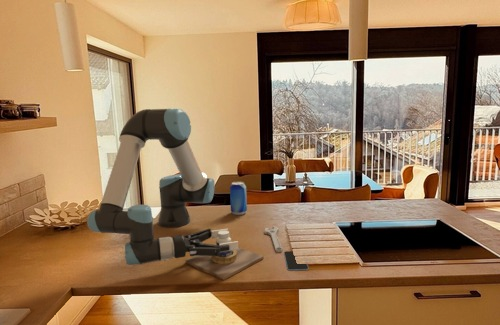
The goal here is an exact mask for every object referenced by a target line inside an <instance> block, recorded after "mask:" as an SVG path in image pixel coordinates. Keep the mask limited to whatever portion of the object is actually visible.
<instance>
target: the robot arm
mask: <svg viewBox="0 0 500 325" xmlns="http://www.w3.org/2000/svg"><path fill="white" fill-rule="evenodd" d="M191 131H192V125H191V119H190V116H189V115H188V113H187V112H186V111H184V109H181V108H173V107H171V108H170V107H169V108H153V109H150V108H149V109H148V108H147V109H142V110H139V111H137V112H136V113H134V114H133V115H132V116H131V117H130V118H129V119H128V120H127V122H126V123H125V125H124V126H123V127H122V130H121V132H120V133H119V138H118V141H119V142H120V144H119V147H118V150H117V154H116V156H115V158H114V159H115V160H114V162H113V166H112V168H111V171H110V175H109V176H108V181H107V184H106V187H105V190H104V193H103V195H102V199H101V202H100V206H99V207H98V209H94V210H92V211H91V212H90V214H88V216H87V219H86V220H87V222H86V223H87V227H88V229H89V231H92V232H94V233H101V234H120V235H121V234H122V235H129V240H130V241H129V242H126V243H125V244H124V258H125V263H126V265H127V266H134V265H135V266H137V265H143V264H149V263H155V262H160V261H164V262H166V261H167V260H171V259H173V258H174V259H180V258H185V257H186V254H187V253H189V256H190V257H194V256H197V255H198V256H219V255H220V252H225V251H231V250H237V249H238V247H239V241H237V240H236V241H235V240H234V241H231V242H228V243H222V244H219V245H216V244H211V243H204V242H205V241H207V240H208V239H217V238H218V232H219V231H229V230H230V229H229V228H222V229H215V230H212V229H211V228H206V229H203V230H199V231H196V232H193V233H190V234H185V235H183V234H180V235H173V236H172V237H171V236H164V237H159V238H155V237H154V236H155V235H154V223H153V220H154V218H153V214H152V208H151V206H150V205H148V204H134V205H132V206H130V207H128V208H127V211H126V210H124V207H125V205H126V204H125V203H126V200H127V197H128V193H129V190H130V187H131V183H132V179H133V177H134V173H135V170H136V167H137V163H138V160H139V156H140V153H141V150H142V149H143V148H145V146H146V142H147V141H148V140H153V141H154V140H158V141H159V143H160V145H161V146H162V147H163V148H164V149H167V150H168V152H169V154H170V155H171V158H172V160H173V162H174V164H175V166H176V168H177V170H178V172H179V173H178V174H171V175H166V176H164V177H161V178H160V179H159V187H158V189H159V198H160V211H159V217H158V219H157V221H158V225H159V226H160V227H162V228H178V227H182V226H186V225H187V224H189V223H190V222H191V217H190V213H189V211H188V209H187V206H186V203H190V204H191V203H194V204H210V203H211V202H212V200H213V198H214V194H215V180H214V179H213V178H212V177H209V178H208V176H207V174H206V173H205V172H204V171H202V170H201V169H200V166H199V164H198V161H197V159H196V157H195V155H194V152H193V150H192V148H191V144H190V143H189V141H188V140H189V138H190V136H191V133H192V132H191ZM229 232H230V231H229Z"/></svg>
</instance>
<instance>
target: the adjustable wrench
mask: <svg viewBox="0 0 500 325" xmlns="http://www.w3.org/2000/svg"><path fill="white" fill-rule="evenodd" d="M279 232H280V230H279V227H277V226H275V225H273V226H272V228H271V229H270V228H269V227H265V228H264V234H265V235H269V236H270V237H271V240H272V245H273V247H274V250H275V253H283V247H282V244H281V241H280V239H279V237H278V233H279Z"/></svg>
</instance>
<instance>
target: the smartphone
mask: <svg viewBox="0 0 500 325" xmlns="http://www.w3.org/2000/svg"><path fill="white" fill-rule="evenodd" d="M293 251H294V250H290V251H287V250H286V251H283V255H284V260H285V267H286V269H287V271H291V272H292V271H297V272H298V271H308V270H309V265H308V263H307V264H297V263H296V260H295V256H294V255H293Z"/></svg>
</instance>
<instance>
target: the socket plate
mask: <svg viewBox="0 0 500 325" xmlns="http://www.w3.org/2000/svg"><path fill="white" fill-rule="evenodd" d="M262 260H264V255H262V254H258V253H256V252H252V251H249V250H247V249H245V248H241V247H239V246H238V249H237V250H232V255H230V256H227V257H219V256H198V255H197V256H190V257H189V258H187V259H185V263H186V264H188V265H190V266H192V267H194V268H196V269H199V270H201V271H204V272H205V273H208V274H209V275H212V276H214V277H216V278H218V279H220V280H223V281H225V280H227V279H229V278H230V277H233V276H234V275H236V274H238V273H239V272H242V271H244V270H246V268H249V267H251V266H253V265H255V264H256V263H258V262H260V261H262Z"/></svg>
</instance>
